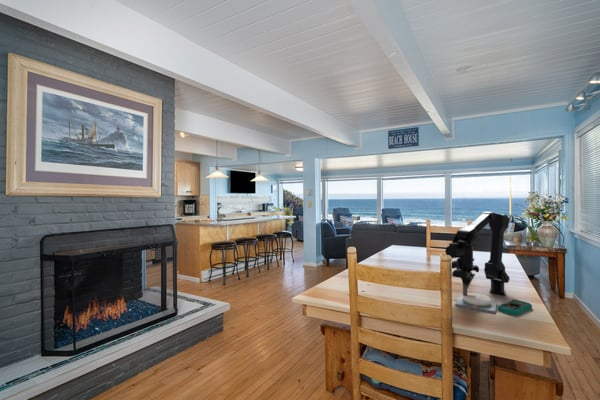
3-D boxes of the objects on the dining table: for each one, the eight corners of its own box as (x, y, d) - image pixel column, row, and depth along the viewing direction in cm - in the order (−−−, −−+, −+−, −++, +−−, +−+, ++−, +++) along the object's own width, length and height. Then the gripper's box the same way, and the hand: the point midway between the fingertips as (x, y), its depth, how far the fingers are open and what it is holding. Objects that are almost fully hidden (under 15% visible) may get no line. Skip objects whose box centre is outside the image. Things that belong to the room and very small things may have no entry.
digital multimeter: (496, 311, 125) (496, 304, 125) (513, 304, 133) (513, 298, 133) (515, 317, 119) (515, 310, 119) (532, 309, 126) (532, 303, 126)
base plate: (460, 296, 143) (460, 294, 143) (497, 302, 134) (497, 300, 134) (455, 306, 130) (455, 303, 130) (495, 314, 122) (495, 311, 122)
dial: (464, 295, 140) (464, 281, 140) (491, 300, 134) (491, 285, 133) (460, 302, 131) (460, 287, 131) (490, 308, 125) (489, 291, 125)
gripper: (454, 251, 150) (454, 281, 151) (440, 256, 137) (440, 289, 138) (479, 254, 142) (479, 286, 142) (466, 260, 129) (466, 295, 130)
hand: (466, 289), depth 138 cm, fingers closed
